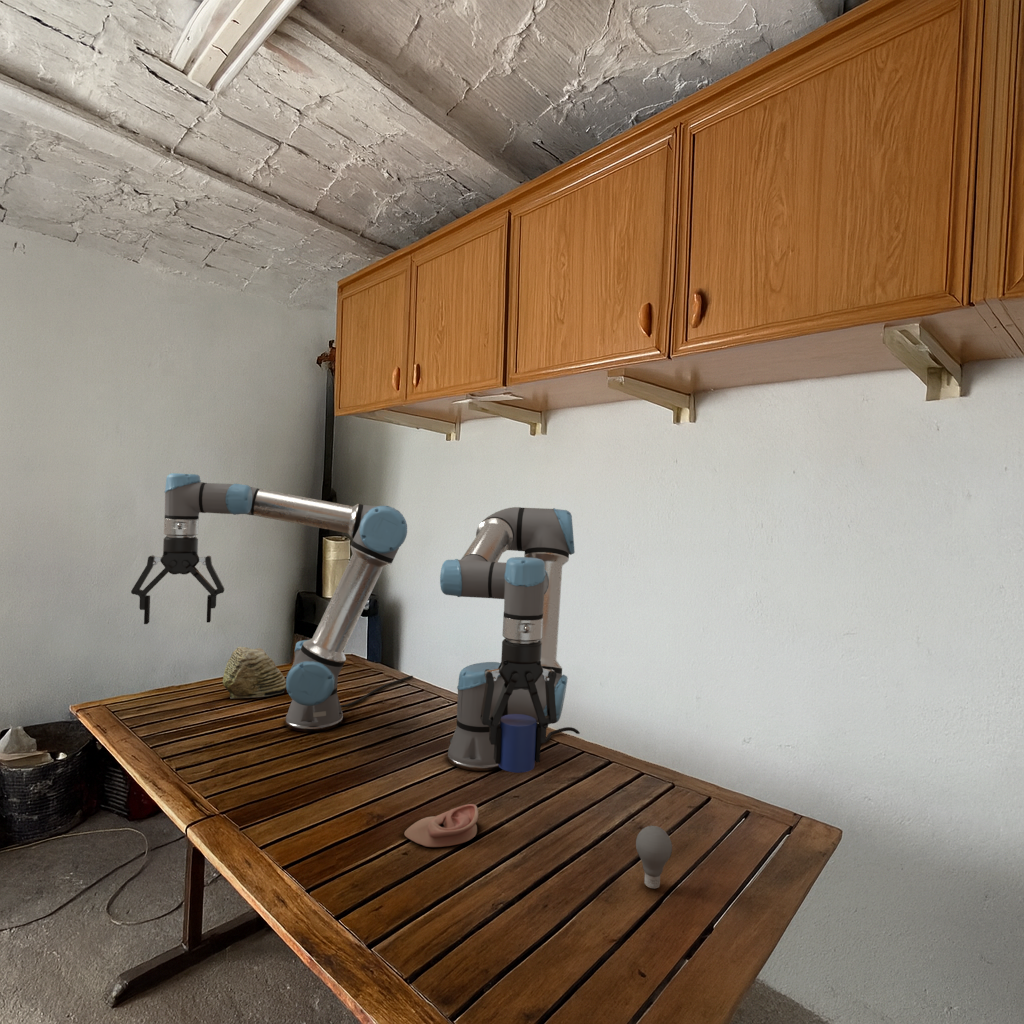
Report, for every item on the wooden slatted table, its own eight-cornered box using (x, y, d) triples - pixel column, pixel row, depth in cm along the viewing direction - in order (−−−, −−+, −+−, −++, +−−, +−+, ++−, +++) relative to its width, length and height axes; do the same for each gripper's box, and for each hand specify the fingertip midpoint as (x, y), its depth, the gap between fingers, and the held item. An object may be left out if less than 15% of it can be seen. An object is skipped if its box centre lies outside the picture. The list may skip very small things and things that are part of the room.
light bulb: (629, 875, 110) (632, 818, 110) (663, 875, 110) (666, 818, 110) (639, 897, 104) (642, 837, 104) (675, 897, 104) (678, 837, 104)
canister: (541, 763, 121) (543, 719, 121) (522, 776, 115) (524, 729, 115) (510, 754, 125) (512, 711, 125) (490, 766, 119) (492, 720, 119)
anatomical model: (398, 821, 117) (420, 793, 128) (397, 842, 117) (419, 813, 128) (468, 831, 114) (483, 802, 126) (467, 853, 114) (482, 822, 126)
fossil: (218, 695, 195) (220, 647, 195) (278, 685, 208) (279, 640, 207) (228, 703, 189) (230, 653, 188) (289, 692, 201) (290, 645, 201)
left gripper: (119, 536, 148) (116, 626, 148) (235, 538, 157) (232, 623, 157) (125, 534, 155) (122, 620, 155) (236, 536, 164) (234, 617, 164)
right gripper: (472, 643, 114) (466, 770, 114) (578, 644, 118) (572, 766, 118) (467, 635, 122) (462, 754, 122) (567, 635, 125) (561, 750, 126)
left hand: (178, 622), depth 156 cm, fingers open, 13 cm apart
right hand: (516, 759), depth 120 cm, fingers closed on canister, 7 cm apart
